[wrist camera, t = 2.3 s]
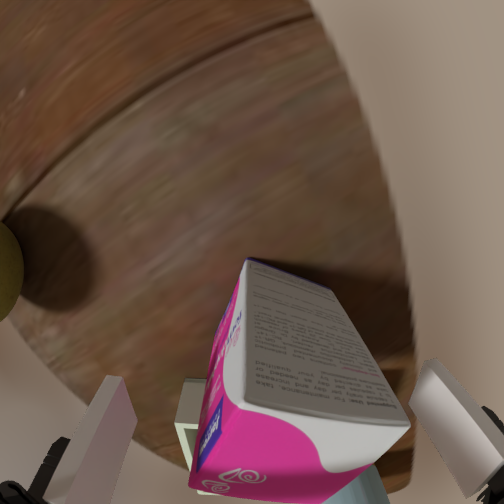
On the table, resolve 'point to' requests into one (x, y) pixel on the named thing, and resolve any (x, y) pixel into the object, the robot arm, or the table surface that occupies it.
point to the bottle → (362, 490)
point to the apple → (9, 270)
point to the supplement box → (290, 395)
